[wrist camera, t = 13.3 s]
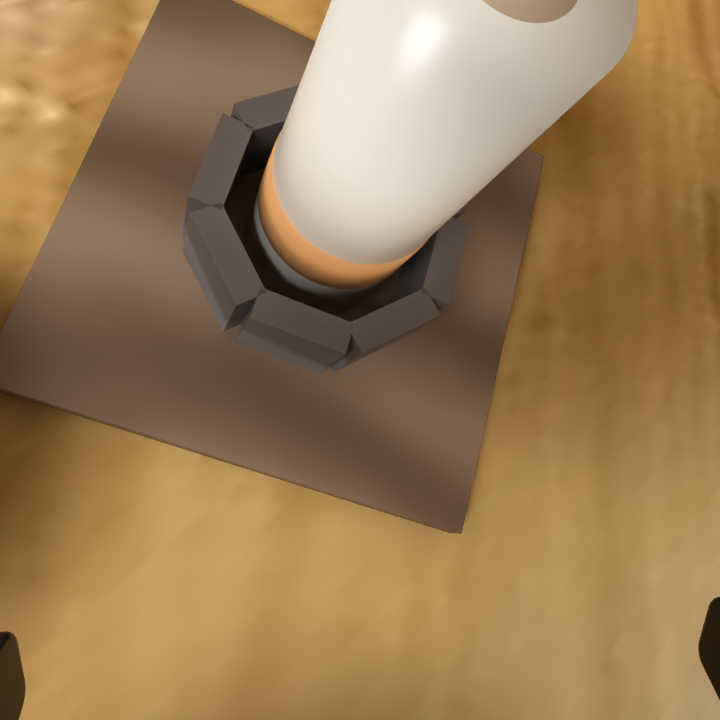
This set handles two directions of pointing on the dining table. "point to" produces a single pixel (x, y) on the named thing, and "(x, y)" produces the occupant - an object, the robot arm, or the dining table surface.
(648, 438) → the dining table surface
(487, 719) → the dining table surface
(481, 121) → the paper roll
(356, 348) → the roll holder stand
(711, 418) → the dining table surface
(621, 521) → the dining table surface
